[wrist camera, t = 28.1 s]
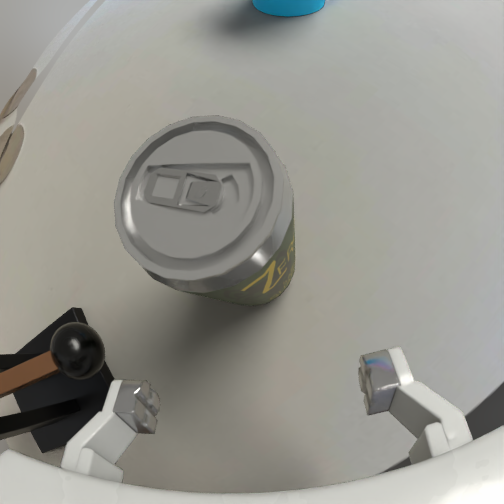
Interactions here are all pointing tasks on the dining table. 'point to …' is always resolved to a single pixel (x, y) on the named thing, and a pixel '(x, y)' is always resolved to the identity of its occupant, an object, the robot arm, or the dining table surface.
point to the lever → (59, 359)
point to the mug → (288, 7)
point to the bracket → (54, 394)
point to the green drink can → (209, 211)
